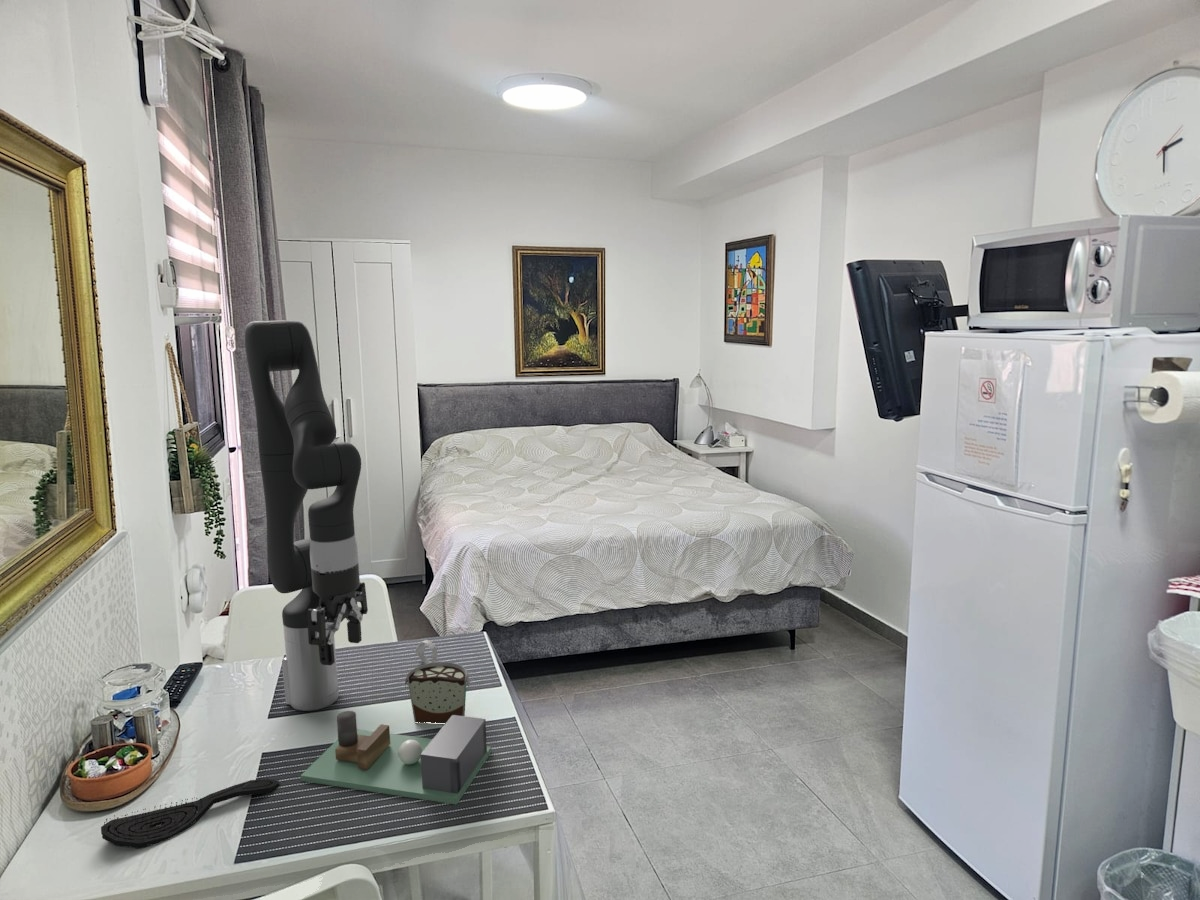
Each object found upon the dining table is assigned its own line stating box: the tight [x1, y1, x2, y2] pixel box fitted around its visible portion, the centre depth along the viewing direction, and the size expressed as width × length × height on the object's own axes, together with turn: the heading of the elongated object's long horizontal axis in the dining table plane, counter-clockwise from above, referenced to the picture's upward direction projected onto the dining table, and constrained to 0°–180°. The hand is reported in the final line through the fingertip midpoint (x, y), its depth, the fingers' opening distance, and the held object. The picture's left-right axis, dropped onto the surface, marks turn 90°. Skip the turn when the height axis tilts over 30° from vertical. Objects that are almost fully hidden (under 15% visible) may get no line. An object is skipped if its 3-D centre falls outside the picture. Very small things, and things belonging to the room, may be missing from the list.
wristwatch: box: [414, 639, 438, 664], centre depth 172 cm, size 3×5×5 cm, turn 54°
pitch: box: [300, 728, 492, 805], centre depth 135 cm, size 28×15×1 cm, turn 76°
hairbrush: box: [100, 778, 280, 849], centre depth 123 cm, size 8×4×25 cm
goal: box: [420, 715, 488, 794], centre depth 132 cm, size 6×12×6 cm, turn 166°
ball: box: [398, 739, 422, 765], centre depth 134 cm, size 4×4×4 cm
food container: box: [404, 661, 471, 723], centre depth 150 cm, size 12×6×10 cm, turn 84°
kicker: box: [335, 710, 391, 770], centre depth 136 cm, size 7×8×7 cm
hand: (341, 652), depth 133 cm, fingers open, 8 cm apart
